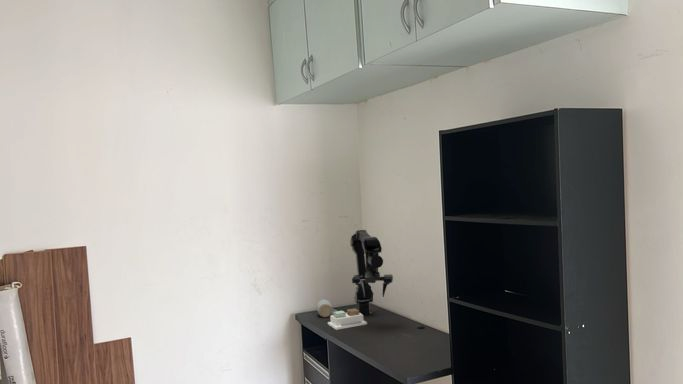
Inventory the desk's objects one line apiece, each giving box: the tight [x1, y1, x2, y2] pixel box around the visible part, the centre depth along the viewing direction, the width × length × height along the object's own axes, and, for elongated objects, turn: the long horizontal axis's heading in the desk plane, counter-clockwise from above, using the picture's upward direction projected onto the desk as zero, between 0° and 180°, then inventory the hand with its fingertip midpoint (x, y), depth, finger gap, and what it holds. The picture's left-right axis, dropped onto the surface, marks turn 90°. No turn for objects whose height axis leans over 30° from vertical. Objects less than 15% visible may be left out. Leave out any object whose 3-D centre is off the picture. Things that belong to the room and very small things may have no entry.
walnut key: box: [346, 307, 359, 316], centre depth 266 cm, size 4×4×3 cm
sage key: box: [334, 310, 347, 318], centre depth 264 cm, size 4×4×3 cm
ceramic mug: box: [316, 299, 338, 318], centre depth 282 cm, size 11×8×8 cm
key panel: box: [327, 312, 368, 331], centre depth 263 cm, size 11×16×4 cm
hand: (373, 296), depth 259 cm, fingers open, 9 cm apart
